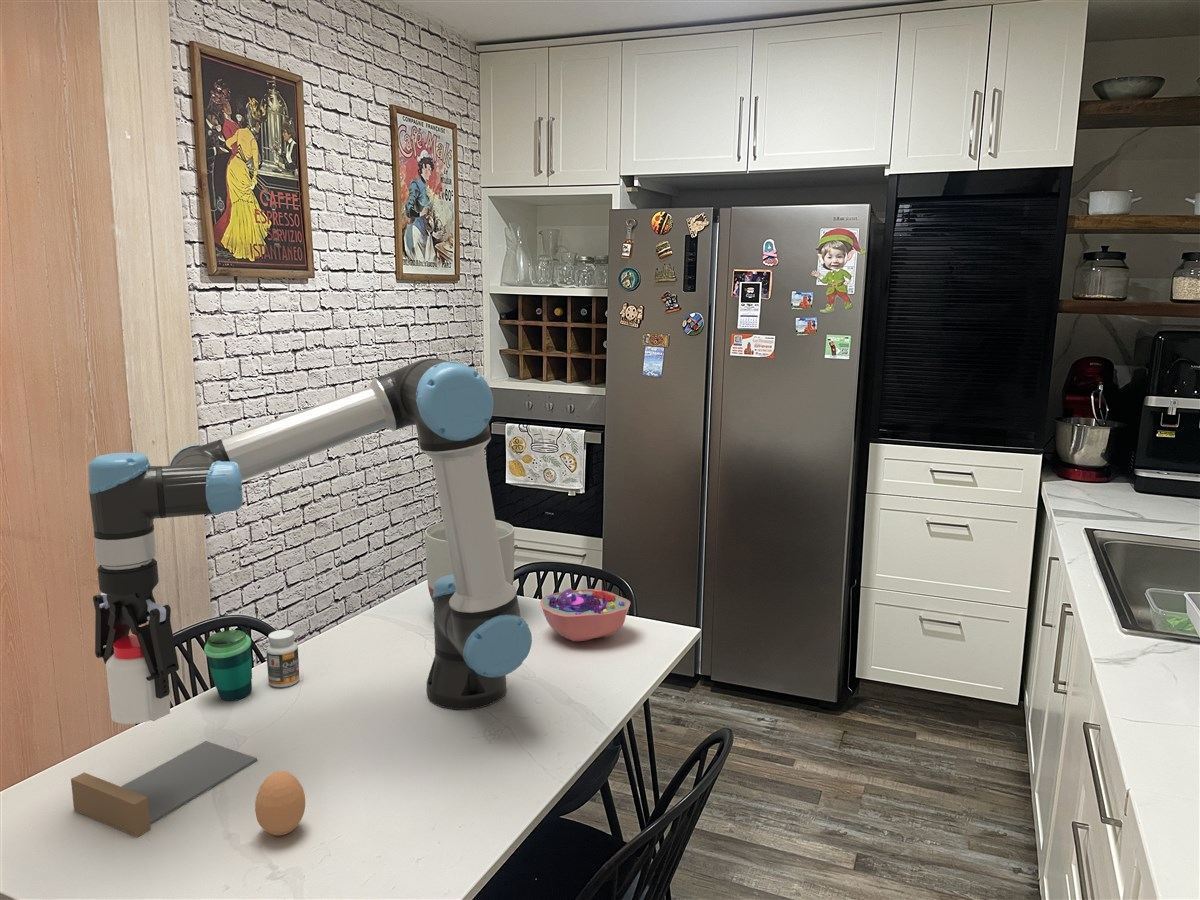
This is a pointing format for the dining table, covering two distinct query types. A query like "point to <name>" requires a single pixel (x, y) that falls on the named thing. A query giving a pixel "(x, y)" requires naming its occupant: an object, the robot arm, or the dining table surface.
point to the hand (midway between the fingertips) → (140, 710)
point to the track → (156, 788)
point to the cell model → (585, 613)
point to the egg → (280, 803)
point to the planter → (440, 558)
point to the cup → (230, 663)
